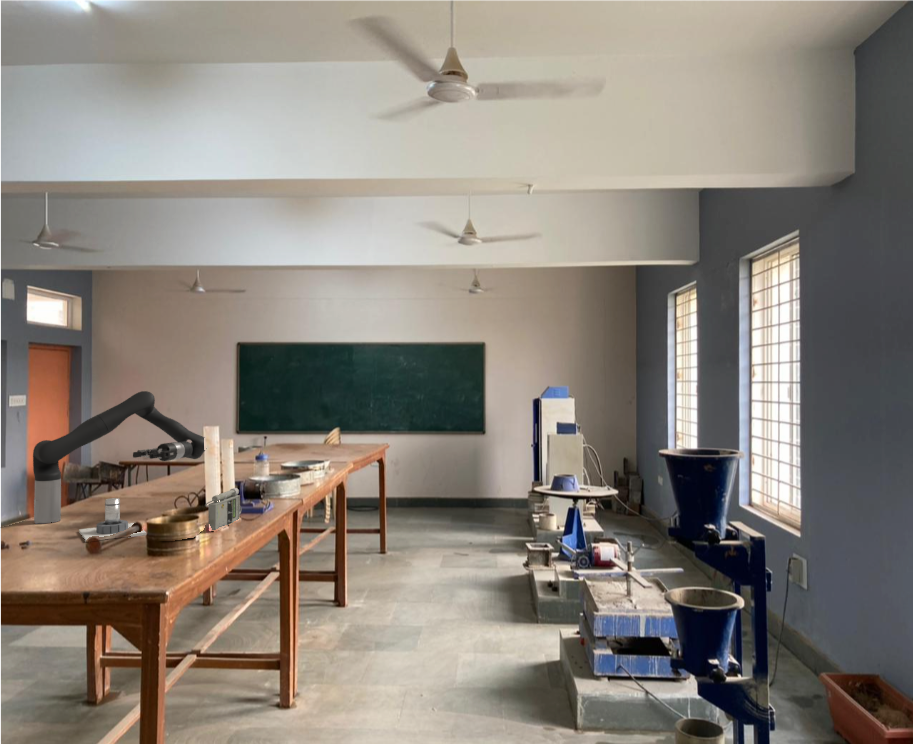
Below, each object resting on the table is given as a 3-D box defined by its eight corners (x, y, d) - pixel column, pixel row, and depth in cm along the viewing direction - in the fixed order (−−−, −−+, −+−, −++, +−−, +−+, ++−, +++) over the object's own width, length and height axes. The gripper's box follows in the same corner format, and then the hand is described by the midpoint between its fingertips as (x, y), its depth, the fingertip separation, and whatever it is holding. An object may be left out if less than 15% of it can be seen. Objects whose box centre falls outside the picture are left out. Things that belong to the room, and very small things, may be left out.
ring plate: (86, 542, 241) (86, 531, 241) (78, 531, 257) (79, 521, 257) (146, 535, 253) (146, 524, 253) (135, 525, 269) (135, 515, 269)
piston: (106, 532, 251) (106, 500, 252) (103, 530, 255) (103, 499, 256) (121, 530, 255) (121, 499, 255) (118, 528, 259) (118, 497, 259)
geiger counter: (218, 496, 258) (248, 485, 282) (202, 495, 259) (234, 485, 283) (217, 532, 258) (247, 518, 282) (202, 531, 259) (233, 517, 283)
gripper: (157, 441, 289) (128, 445, 273) (184, 443, 284) (155, 447, 269) (157, 459, 289) (127, 463, 273) (184, 460, 284) (155, 465, 269)
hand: (141, 455), depth 271 cm, fingers open, 8 cm apart
